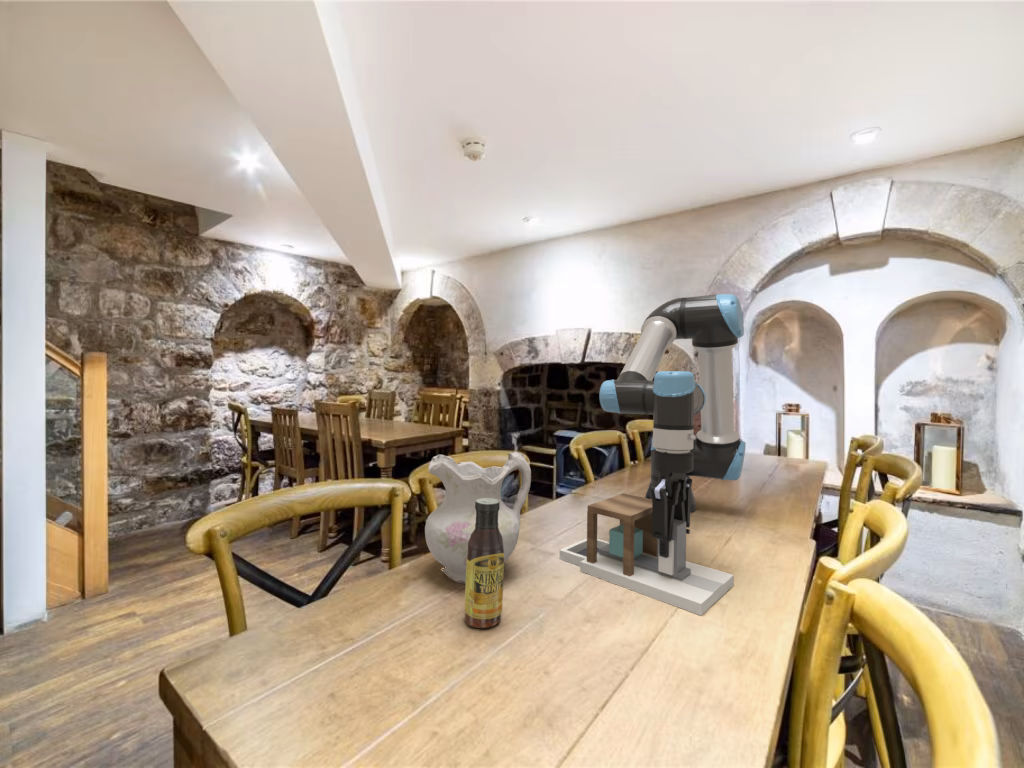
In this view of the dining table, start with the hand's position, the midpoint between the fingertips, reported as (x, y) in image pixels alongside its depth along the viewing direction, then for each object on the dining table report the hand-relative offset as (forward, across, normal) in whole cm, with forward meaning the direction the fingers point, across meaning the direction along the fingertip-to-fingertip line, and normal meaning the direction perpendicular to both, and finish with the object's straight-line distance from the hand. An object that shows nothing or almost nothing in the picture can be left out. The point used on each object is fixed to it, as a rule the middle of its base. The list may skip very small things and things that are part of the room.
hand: (671, 568), depth 89 cm
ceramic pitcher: (+3, -23, +31) cm, 39 cm away
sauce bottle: (+3, -35, +16) cm, 39 cm away
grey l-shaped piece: (+1, 0, +6) cm, 6 cm away
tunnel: (+1, 0, +10) cm, 10 cm away
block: (0, 0, +10) cm, 10 cm away
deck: (+3, 0, +7) cm, 8 cm away
